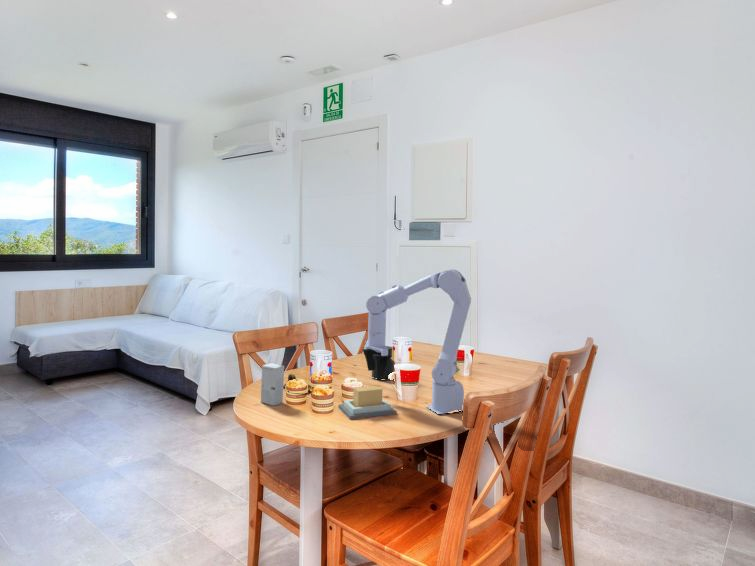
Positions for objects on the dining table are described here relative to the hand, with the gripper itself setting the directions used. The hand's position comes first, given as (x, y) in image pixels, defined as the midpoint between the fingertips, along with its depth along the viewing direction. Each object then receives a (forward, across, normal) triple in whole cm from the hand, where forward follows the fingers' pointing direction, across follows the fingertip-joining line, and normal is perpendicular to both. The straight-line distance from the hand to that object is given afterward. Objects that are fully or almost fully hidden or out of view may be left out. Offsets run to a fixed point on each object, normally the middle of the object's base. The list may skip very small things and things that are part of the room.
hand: (375, 373), depth 156 cm
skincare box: (+10, -9, -32) cm, 35 cm away
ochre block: (+8, +8, -6) cm, 13 cm away
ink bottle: (+10, -26, +14) cm, 31 cm away
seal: (+10, -22, -21) cm, 32 cm away
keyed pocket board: (+9, +8, -6) cm, 14 cm away
